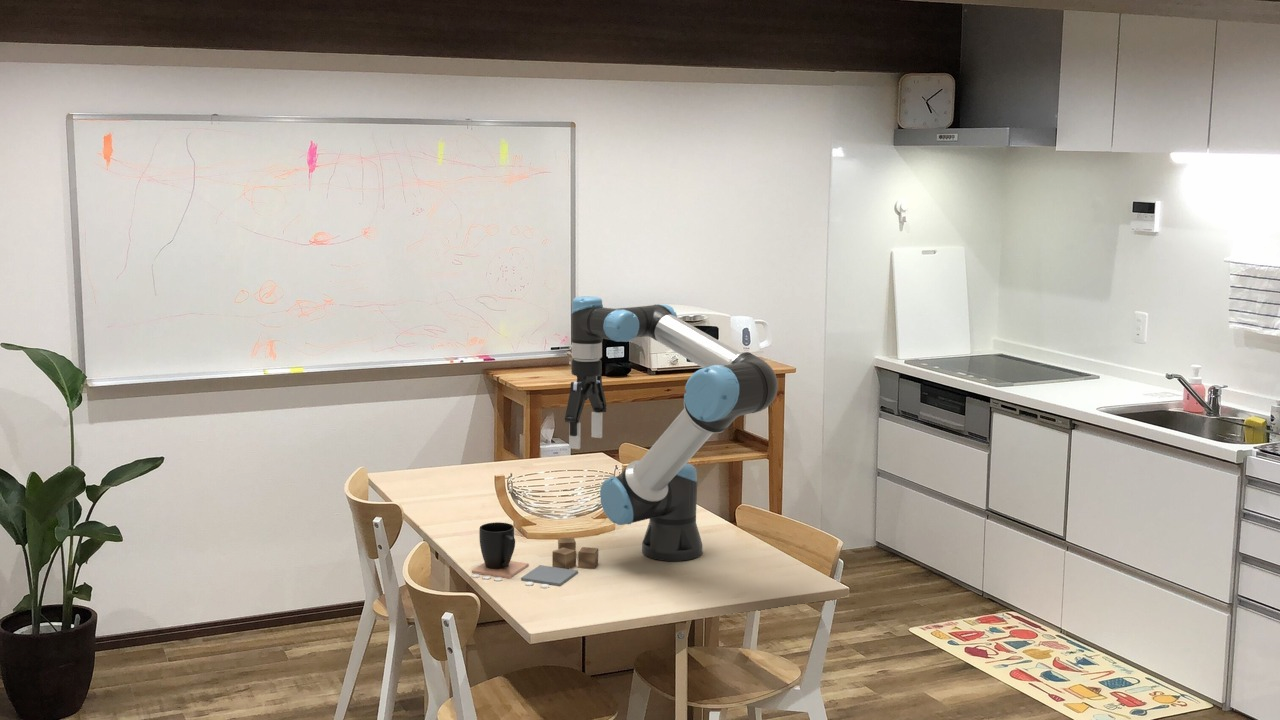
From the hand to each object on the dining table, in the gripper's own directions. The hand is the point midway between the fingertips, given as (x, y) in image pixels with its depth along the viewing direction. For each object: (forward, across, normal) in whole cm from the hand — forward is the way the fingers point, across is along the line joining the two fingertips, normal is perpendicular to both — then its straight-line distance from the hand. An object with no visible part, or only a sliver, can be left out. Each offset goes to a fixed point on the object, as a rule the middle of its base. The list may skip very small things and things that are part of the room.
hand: (586, 442), depth 308 cm
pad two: (+27, +26, +2) cm, 38 cm away
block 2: (+27, +17, +2) cm, 32 cm away
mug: (+26, +26, -11) cm, 38 cm away
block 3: (+27, +14, +7) cm, 31 cm away
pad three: (+27, +26, -11) cm, 39 cm away
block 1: (+27, +9, -1) cm, 28 cm away
